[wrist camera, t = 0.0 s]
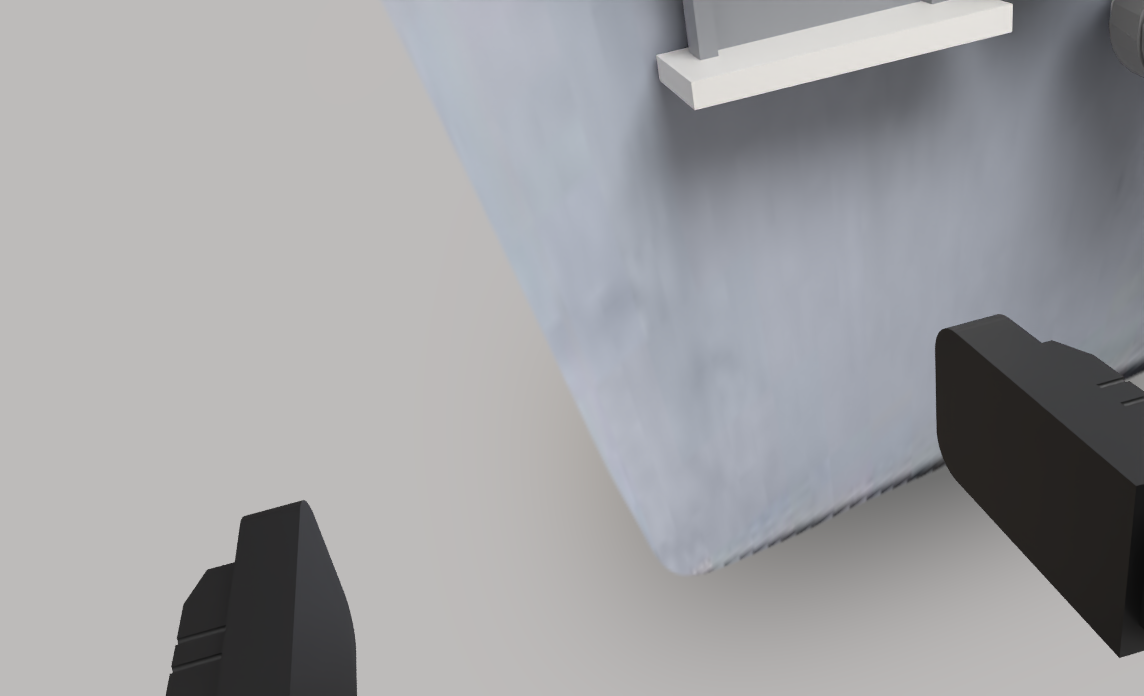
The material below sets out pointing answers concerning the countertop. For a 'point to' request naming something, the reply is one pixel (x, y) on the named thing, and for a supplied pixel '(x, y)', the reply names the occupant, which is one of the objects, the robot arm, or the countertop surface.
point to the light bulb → (1128, 33)
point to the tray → (812, 41)
